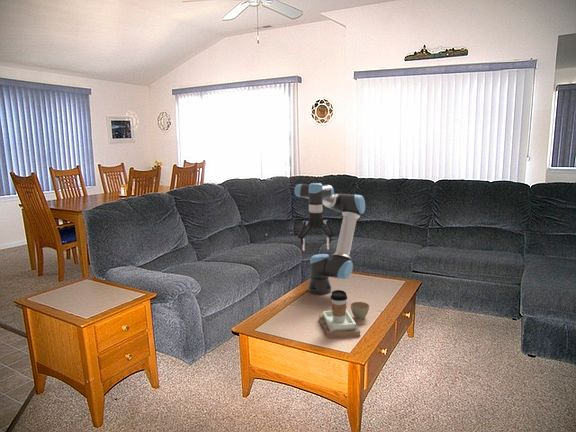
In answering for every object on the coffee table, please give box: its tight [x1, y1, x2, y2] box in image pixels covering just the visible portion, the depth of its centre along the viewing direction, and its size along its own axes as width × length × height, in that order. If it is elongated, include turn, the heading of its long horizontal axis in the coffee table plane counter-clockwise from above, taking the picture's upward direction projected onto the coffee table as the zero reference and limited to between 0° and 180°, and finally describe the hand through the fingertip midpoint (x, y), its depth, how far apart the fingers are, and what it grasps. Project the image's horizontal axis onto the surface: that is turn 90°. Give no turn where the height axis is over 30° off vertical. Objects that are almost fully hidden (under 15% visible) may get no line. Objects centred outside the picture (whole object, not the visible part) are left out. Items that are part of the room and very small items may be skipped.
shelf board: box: [318, 314, 361, 339], centre depth 216 cm, size 22×16×2 cm
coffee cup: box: [330, 289, 348, 323], centre depth 215 cm, size 8×8×15 cm
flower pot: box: [350, 301, 370, 320], centre depth 227 cm, size 10×10×7 cm
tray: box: [322, 309, 357, 331], centre depth 216 cm, size 18×13×3 cm
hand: (315, 249), depth 234 cm, fingers open, 13 cm apart
